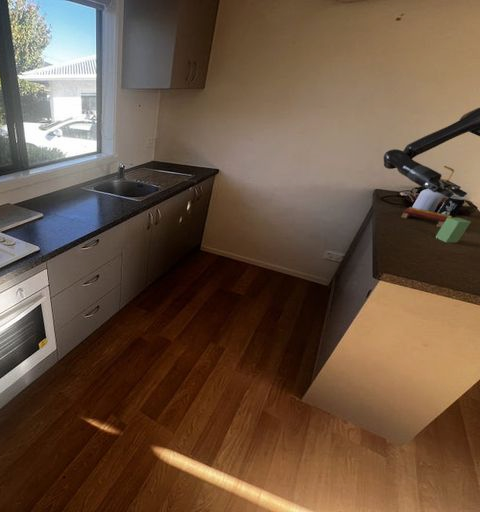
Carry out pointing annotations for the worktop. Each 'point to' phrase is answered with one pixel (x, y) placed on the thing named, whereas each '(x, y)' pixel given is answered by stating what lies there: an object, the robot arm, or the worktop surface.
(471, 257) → the worktop surface
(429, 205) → the soap bottle
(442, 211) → the beverage can
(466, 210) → the bolt
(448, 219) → the green bar
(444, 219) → the rod rack
